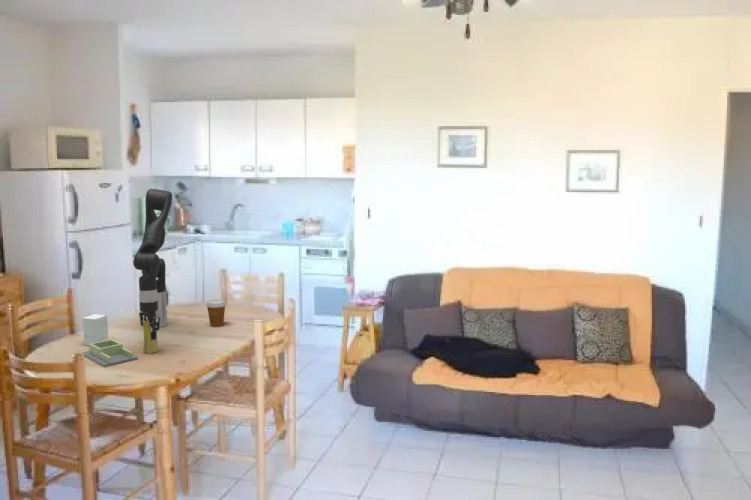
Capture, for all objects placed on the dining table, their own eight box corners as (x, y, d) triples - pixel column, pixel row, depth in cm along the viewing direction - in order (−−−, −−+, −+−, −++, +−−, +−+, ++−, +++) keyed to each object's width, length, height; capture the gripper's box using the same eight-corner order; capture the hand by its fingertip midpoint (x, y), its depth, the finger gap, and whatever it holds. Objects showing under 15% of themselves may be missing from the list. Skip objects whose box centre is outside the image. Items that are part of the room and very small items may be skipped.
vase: (145, 349, 287) (144, 317, 285) (160, 349, 288) (158, 317, 286) (141, 353, 281) (140, 321, 279) (156, 353, 282) (155, 321, 280)
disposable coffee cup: (202, 326, 324) (202, 302, 322) (214, 321, 332) (213, 298, 330) (219, 328, 320) (218, 304, 318) (230, 323, 329) (229, 300, 327)
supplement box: (109, 342, 297) (107, 315, 295) (97, 347, 290) (95, 319, 288) (95, 340, 299) (94, 313, 297) (83, 345, 292) (82, 317, 290)
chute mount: (81, 354, 279) (81, 343, 279) (114, 347, 289) (113, 336, 288) (104, 367, 264) (103, 355, 263) (137, 359, 274) (137, 347, 273)
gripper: (132, 298, 283) (134, 336, 286) (148, 304, 273) (150, 343, 276) (148, 295, 289) (150, 332, 291) (165, 301, 279) (166, 339, 281)
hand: (150, 337), depth 284 cm, fingers closed on vase, 5 cm apart
